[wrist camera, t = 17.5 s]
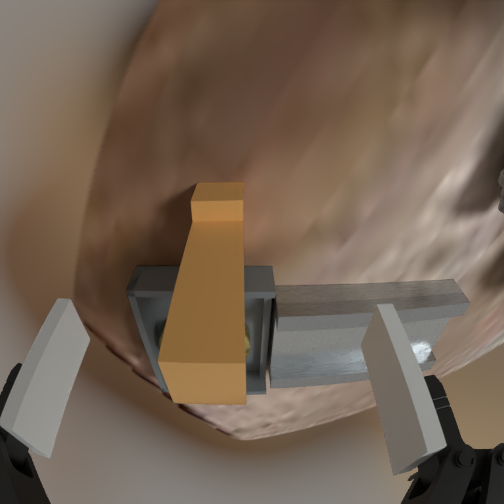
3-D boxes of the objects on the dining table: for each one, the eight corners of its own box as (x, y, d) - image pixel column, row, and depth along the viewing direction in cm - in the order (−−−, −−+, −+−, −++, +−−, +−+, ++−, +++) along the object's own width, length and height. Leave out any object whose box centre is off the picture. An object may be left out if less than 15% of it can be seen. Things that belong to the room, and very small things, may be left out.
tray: (136, 266, 23) (126, 290, 21) (272, 266, 24) (275, 291, 21) (166, 369, 31) (162, 391, 29) (264, 370, 31) (265, 394, 29)
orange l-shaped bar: (197, 182, 20) (148, 336, 9) (242, 181, 20) (245, 338, 9) (203, 253, 23) (179, 415, 12) (243, 253, 23) (246, 417, 12)
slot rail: (274, 285, 25) (278, 316, 22) (453, 279, 25) (470, 302, 22) (268, 360, 30) (270, 388, 27) (419, 346, 31) (430, 368, 28)
